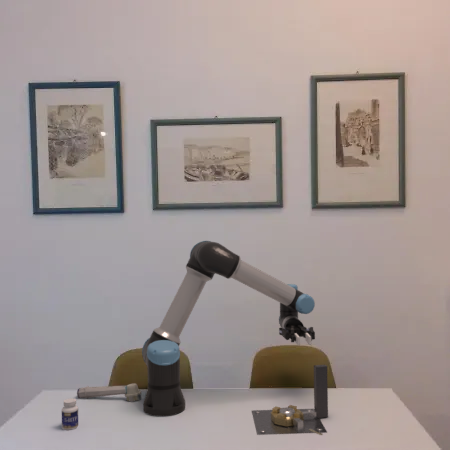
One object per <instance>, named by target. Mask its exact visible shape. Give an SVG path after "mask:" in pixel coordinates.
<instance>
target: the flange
mask: <svg viewBox="0 0 450 450" xmlns="http://www.w3.org/2000/svg"><path fill="white" fill-rule="evenodd" d="M287 407H288V406H287ZM287 407H286V406H285V407H280V408H281V409H280V413H283V414H286V417H292V416H294V413H295V410H294V409H293V408H287ZM298 409H299V410H300V411H301V412H304V411H314V408H298ZM271 412H272V409H260V410H257V409H256V410H253V409H252V410H251V414H252V418H253V419H252V420H253V423H254V427H255V431H256V435H257V436H263V435H291V434H293V435H294V434H295V435H297V434H298V435H299V434H318V435H319V436H323V433H324V434H326V433H327V434H328V431H327V429H326V428H325V425H324V424H323V422H322V420H321V418H316V417H312V418H304V421H302V420H301V419H300V418H295V419H293V426H287V427H286V426H282V425H277V424H274V422H273V421H272V420H271Z"/></svg>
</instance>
